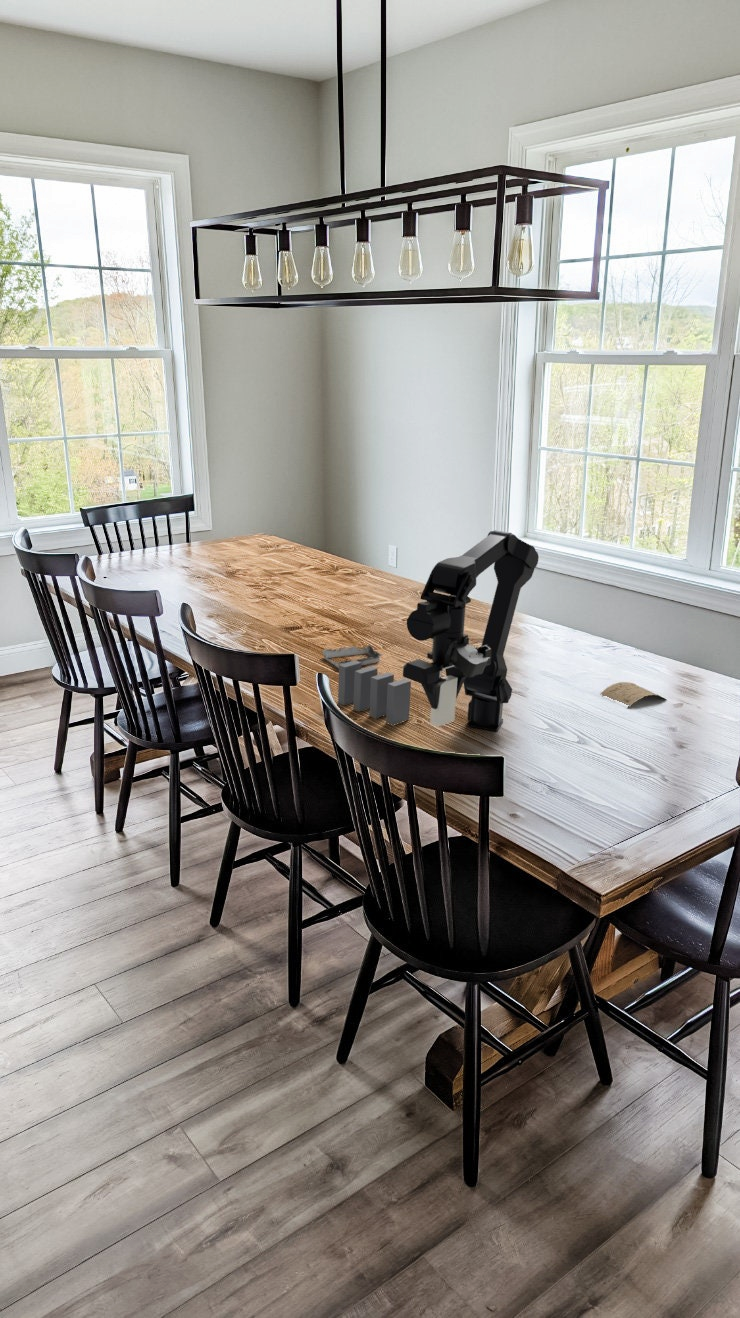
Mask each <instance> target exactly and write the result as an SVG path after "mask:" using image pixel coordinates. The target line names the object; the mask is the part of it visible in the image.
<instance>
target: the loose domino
mask: <svg viewBox="0 0 740 1318" xmlns="http://www.w3.org/2000/svg"><path fill="white" fill-rule="evenodd" d="M441 678H443V679H446V681H445V682H444V683H443V684H442V685H441V687H440V694H439V702H438V706H437V709H433V708H432V707H431V706H430V717H429V724H430V725H431V726H435V727H437V728H439V727H442V726H444V725H447V724H449V723H452V722H455V720H456V719H455V717H456V704H457V699H456V693H457V680H458V678H457V677H454V676H451V675H449V676H446V675H445V676H443V677H442V676H441Z"/></svg>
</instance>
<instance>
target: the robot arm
mask: <svg viewBox="0 0 740 1318" xmlns="http://www.w3.org/2000/svg"><path fill="white" fill-rule="evenodd" d="M538 562H539V553H538V551H537V550H536V548H535V546H534V545H531V544H529V543H527V542H526V541H524V540H521V539H520V538H518V537H517V536H516V535H515V534H513V533H512V532H507V531H502V530H496V529H494V530H492V531H489V532H488V533H487V536H485V538H483V539H482V540H481V541H479V542H477V543H476V544H475V545H474V546H472V547H471V548H470V549H469V550H467V551H466V552H465V553H463V554H462V555H460V556H457V557H448V558H445V559H443V560H440V561H438V562H437V563H435V565H434V566H433V567H432V570H431V572H430V573H429V576H428V579H427V581H426V583H425V585H424V587H423V591H422V592H421V594H420V598H419V599H420V600H421V602H417V605H416V609H415V610H413V611H411V613H410V614H409V615H408V618H407V619H406V628H407V631H408V633H409V635H410V636H411V637H412V638H413V639H414V640H416V641H419V642H420V641H421V642H422V641H423V642H424V641H427V640H430V639H431V640H432V647H431V648H432V649H431V650H432V651H430V652H427V655H426V657H427V658H426V659H429V660H431V661H432V662H429V661H425V660H422V659H420V658H419V659H416V660H411V661H409V662H406V663H405V664H404V665H403V666H402V668H403V669H402V677H403V678H404V679H407V680H410V681H414V682H416V683H419V684H421V686H422V688H423V690H424V692H425V695H426V697H427V700H428V703H429V705H430V708H431V707H432V708H433V709H437V706H438V702H439V694H440V687H441V685H442V684H443V683H444V682H445V681H446V679H443V678H442V676H443V675H442V674H443V671H445V676H449V675H451V676H454V677H457V678H458V680H457V693H456V700H457V698H458V696H459V694H460V692H461V689H462V687H463V689H464V694H465V695H466V696H470V697H471V698H470V701H469V702H468V704H467V705H468V708H467V721H468V722H467V726H468V727H471V728H475V729H476V728H477V729H482V730H487V731H493V732H497V731H499V729H500V728H501V726H502V724H503V722H504V718H502V717H503V716H502V715H503V706H504V704H508V703H509V701H510V699H511V697H512V693H513V688H512V686H511V685H510V683H509V682H508V680H507V674H508V667H507V664H506V660H505V658H504V657H505V656H504V654H505V649H506V645H507V641H508V639H509V635H510V631H511V626H512V624H513V623H512V622H513V619H514V614H515V612H516V611H515V610H516V608H517V604H518V601H519V600H518V599H519V597H520V592H521V590H522V587H524V586H525V585H526V584H527V583H528V581H530V580H531V578H532V577H533V575H534V572H535V568H537V566H538V564H539V563H538ZM493 564H494V565H493ZM492 565H493V569H494V574H495V576H496V582H497V585H496V588H495V593H494V595H493V599H492V600H493V601H492V604H491V607H490V611H489V615H488V619H487V623H486V627H485V632H484V634H483V638H482V642H481V646H479V647H477V646H473V645H470V637H469V635H468V634H465V633H464V631H465V618H466V605H467V604H469V603H471V601H472V599H471V598H470V597H469V594H470V592H472V591H473V589H474V588H475V587H476V586H477V578H478V577H479V575H481V574H482V573H483V572H485V570H487V569H488V568H490V567H492Z"/></svg>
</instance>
